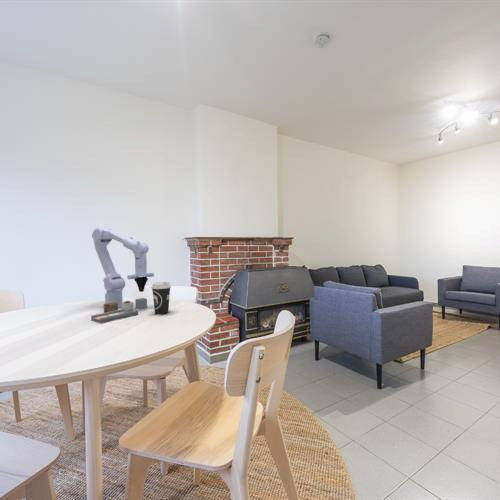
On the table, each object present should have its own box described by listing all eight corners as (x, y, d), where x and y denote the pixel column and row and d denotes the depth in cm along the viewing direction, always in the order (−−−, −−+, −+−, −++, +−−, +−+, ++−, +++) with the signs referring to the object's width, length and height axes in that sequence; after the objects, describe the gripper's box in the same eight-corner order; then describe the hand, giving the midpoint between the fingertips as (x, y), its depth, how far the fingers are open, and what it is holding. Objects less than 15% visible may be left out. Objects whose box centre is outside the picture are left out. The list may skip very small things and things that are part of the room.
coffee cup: (168, 315, 138) (167, 284, 138) (148, 315, 138) (148, 284, 138) (173, 310, 148) (173, 281, 147) (155, 310, 148) (155, 281, 147)
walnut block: (104, 313, 142) (103, 304, 142) (111, 311, 147) (111, 302, 146) (110, 314, 141) (110, 304, 140) (118, 312, 145) (117, 302, 145)
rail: (91, 320, 131) (91, 315, 131) (128, 312, 145) (128, 308, 145) (100, 323, 125) (100, 318, 125) (138, 314, 140) (137, 310, 140)
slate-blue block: (135, 308, 154) (135, 299, 154) (143, 306, 157) (143, 297, 157) (138, 309, 151) (138, 300, 150) (147, 308, 154) (146, 299, 153)
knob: (121, 311, 140) (121, 301, 139) (128, 310, 143) (128, 300, 143) (125, 313, 137) (125, 302, 137) (133, 311, 140) (133, 301, 140)
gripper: (132, 267, 143) (132, 294, 143) (157, 265, 154) (157, 290, 155) (124, 266, 147) (125, 292, 147) (149, 264, 159) (150, 288, 159)
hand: (141, 291), depth 151 cm, fingers closed
